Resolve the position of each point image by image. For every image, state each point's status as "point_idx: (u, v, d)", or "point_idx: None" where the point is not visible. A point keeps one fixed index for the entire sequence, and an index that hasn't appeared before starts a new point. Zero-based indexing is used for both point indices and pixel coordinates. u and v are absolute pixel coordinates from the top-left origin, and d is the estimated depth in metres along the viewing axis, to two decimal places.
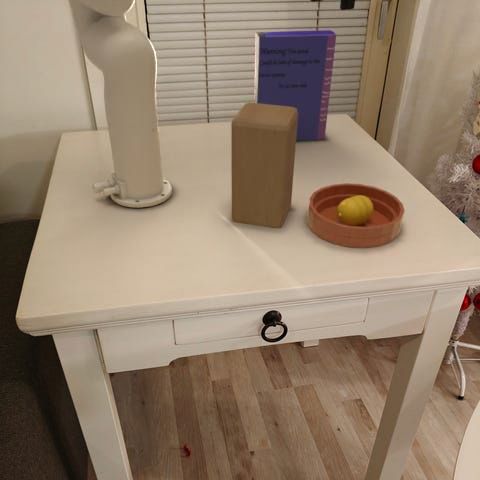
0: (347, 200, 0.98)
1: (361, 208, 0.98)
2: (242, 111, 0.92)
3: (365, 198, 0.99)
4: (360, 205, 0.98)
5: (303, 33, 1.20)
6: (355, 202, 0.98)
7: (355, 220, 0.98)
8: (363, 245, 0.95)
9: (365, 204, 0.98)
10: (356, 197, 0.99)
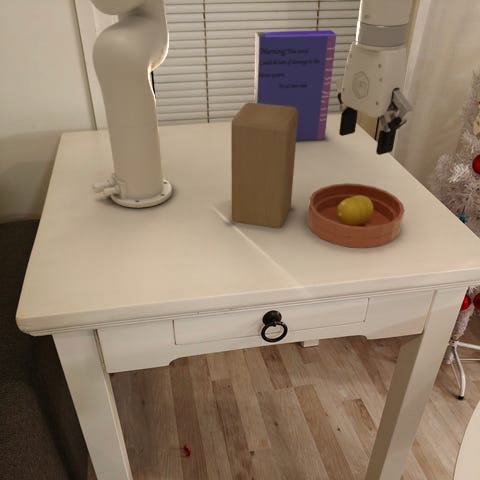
0: (347, 200, 0.98)
1: (361, 208, 0.98)
2: (242, 111, 0.92)
3: (365, 198, 0.99)
4: (360, 205, 0.98)
5: (303, 33, 1.20)
6: (355, 202, 0.98)
7: (355, 220, 0.98)
8: (363, 245, 0.95)
9: (365, 204, 0.98)
10: (356, 197, 0.99)
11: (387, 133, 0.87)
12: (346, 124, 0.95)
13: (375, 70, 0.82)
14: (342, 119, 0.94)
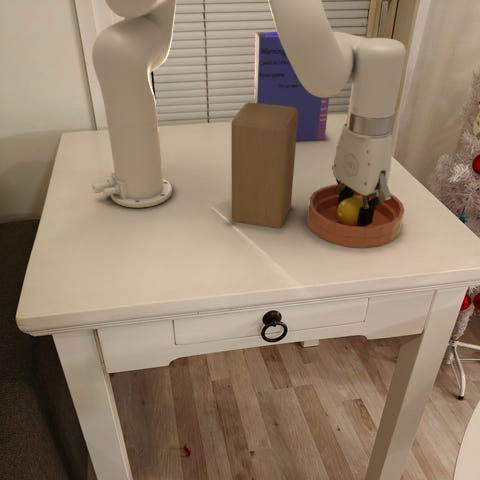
0: (347, 200, 0.98)
1: None
2: (242, 111, 0.92)
3: None
4: (360, 205, 0.98)
5: None
6: (355, 202, 0.98)
7: (355, 220, 0.98)
8: (363, 245, 0.95)
9: None
10: (356, 197, 0.99)
11: (366, 210, 0.96)
12: None
13: (363, 155, 0.89)
14: (339, 199, 1.01)
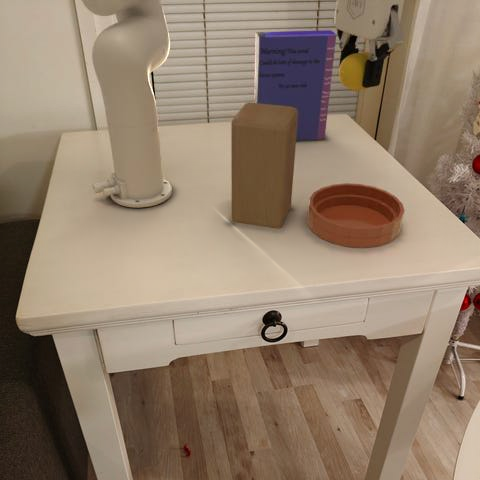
0: (351, 55, 0.83)
1: None
2: (242, 111, 0.92)
3: None
4: None
5: (303, 33, 1.20)
6: (360, 56, 0.82)
7: (360, 78, 0.83)
8: (363, 245, 0.95)
9: None
10: (362, 52, 0.84)
11: (374, 63, 0.81)
12: None
13: None
14: (342, 58, 0.85)
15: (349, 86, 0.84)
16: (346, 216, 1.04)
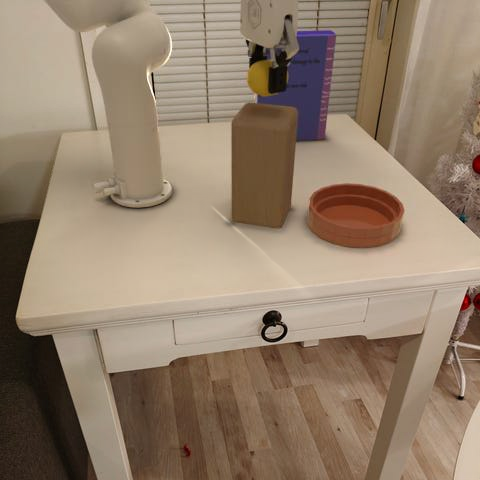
0: (257, 62, 0.87)
1: None
2: (242, 111, 0.92)
3: None
4: None
5: (303, 33, 1.20)
6: (265, 63, 0.86)
7: (265, 84, 0.86)
8: (363, 245, 0.95)
9: None
10: (267, 60, 0.87)
11: (276, 70, 0.84)
12: None
13: None
14: (250, 65, 0.89)
15: (257, 92, 0.88)
16: (346, 216, 1.04)
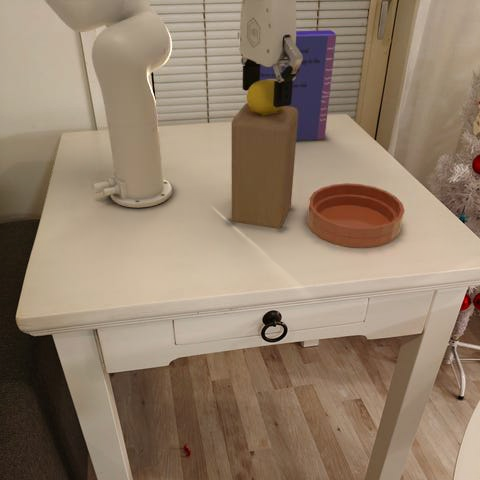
0: (256, 82, 0.89)
1: (270, 90, 0.88)
2: (242, 111, 0.92)
3: None
4: (270, 87, 0.88)
5: (303, 33, 1.20)
6: (264, 84, 0.88)
7: (264, 104, 0.88)
8: (363, 245, 0.95)
9: None
10: (267, 80, 0.89)
11: (282, 84, 0.84)
12: (248, 78, 0.92)
13: (264, 15, 0.79)
14: (244, 72, 0.91)
15: (256, 111, 0.90)
16: (346, 216, 1.04)
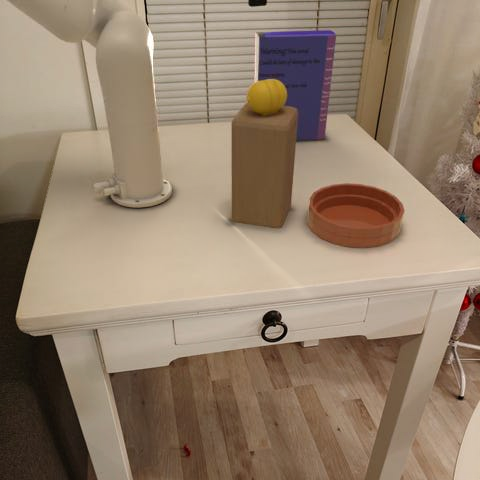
0: (256, 82, 0.89)
1: (270, 90, 0.88)
2: (242, 111, 0.92)
3: (277, 81, 0.89)
4: (270, 87, 0.88)
5: (303, 33, 1.20)
6: (264, 83, 0.88)
7: (264, 104, 0.88)
8: (363, 245, 0.95)
9: (276, 86, 0.88)
10: (267, 80, 0.89)
11: None
12: None
13: None
14: None
15: (256, 111, 0.90)
16: (346, 216, 1.04)
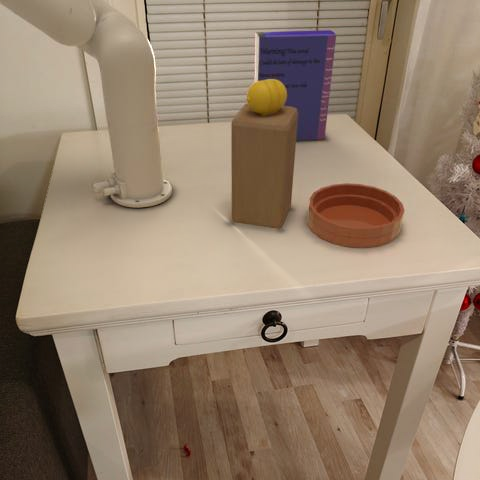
0: (256, 82, 0.89)
1: (270, 90, 0.88)
2: (242, 111, 0.92)
3: (276, 81, 0.89)
4: (270, 87, 0.88)
5: (303, 33, 1.20)
6: (264, 83, 0.88)
7: (264, 104, 0.88)
8: (363, 245, 0.95)
9: (276, 86, 0.88)
10: (266, 80, 0.89)
11: None
12: None
13: None
14: None
15: (256, 111, 0.90)
16: (346, 216, 1.04)
